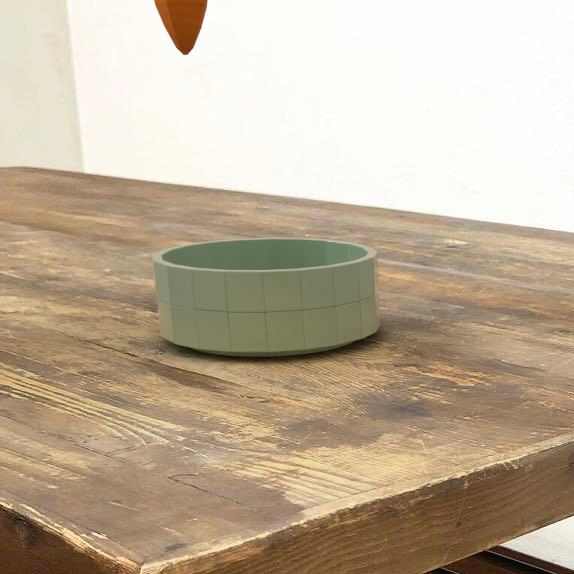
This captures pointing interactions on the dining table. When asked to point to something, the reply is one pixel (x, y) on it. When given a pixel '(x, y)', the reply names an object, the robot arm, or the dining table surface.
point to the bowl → (267, 295)
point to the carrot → (182, 21)
